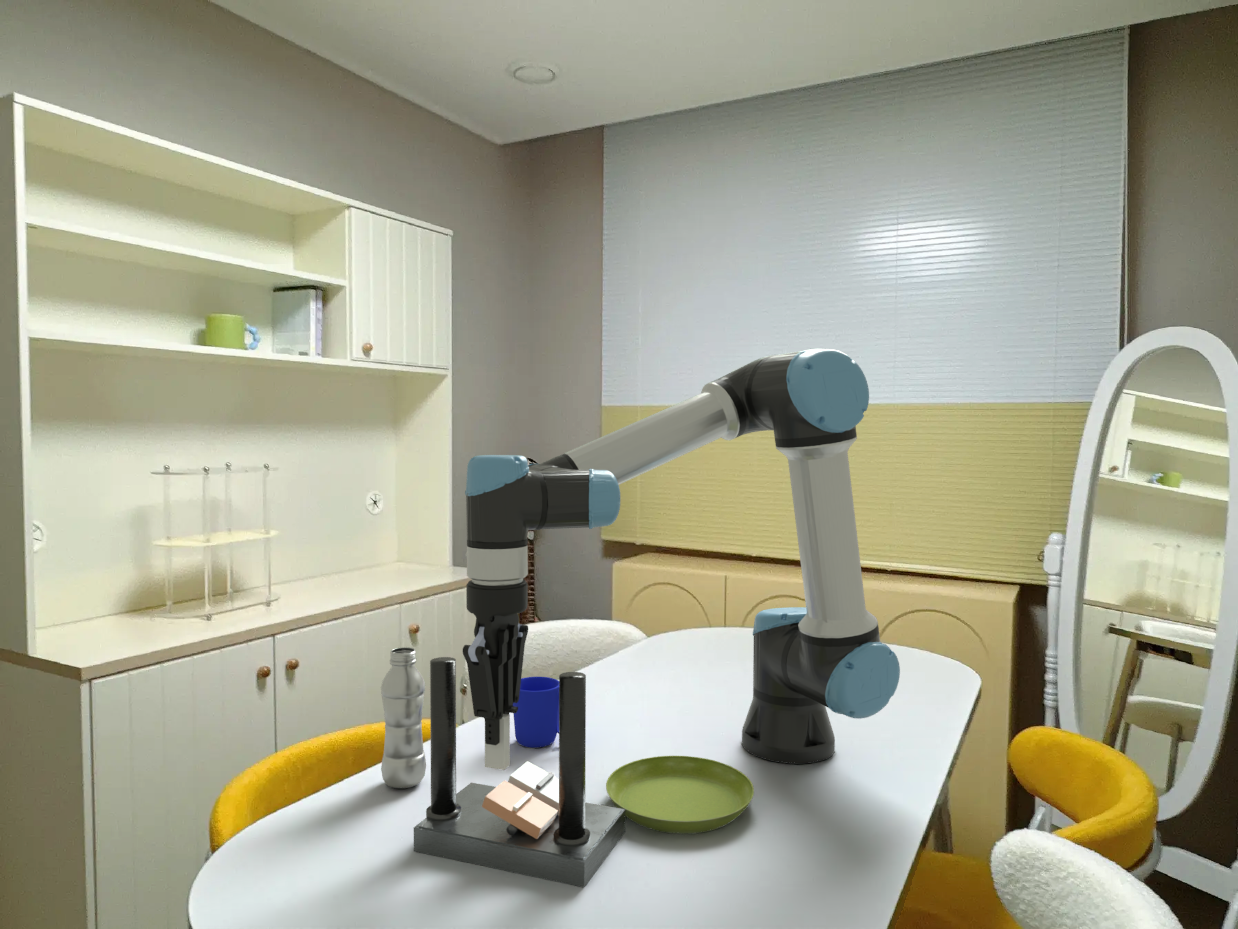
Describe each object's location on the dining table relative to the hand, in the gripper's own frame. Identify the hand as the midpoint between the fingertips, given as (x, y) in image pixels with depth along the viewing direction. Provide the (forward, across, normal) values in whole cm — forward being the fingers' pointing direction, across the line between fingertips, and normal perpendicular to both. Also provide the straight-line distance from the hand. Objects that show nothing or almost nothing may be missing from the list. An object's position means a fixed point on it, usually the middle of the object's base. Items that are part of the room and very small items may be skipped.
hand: (497, 766), depth 104 cm
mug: (+11, -34, -9) cm, 36 cm away
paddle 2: (+5, 0, +3) cm, 6 cm away
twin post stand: (+10, -2, +2) cm, 11 cm away
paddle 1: (+5, -6, +3) cm, 9 cm away
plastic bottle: (+11, -12, -22) cm, 27 cm away
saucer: (+11, -20, +18) cm, 29 cm away
